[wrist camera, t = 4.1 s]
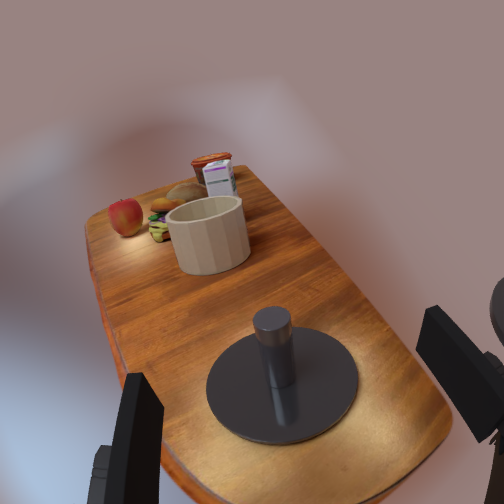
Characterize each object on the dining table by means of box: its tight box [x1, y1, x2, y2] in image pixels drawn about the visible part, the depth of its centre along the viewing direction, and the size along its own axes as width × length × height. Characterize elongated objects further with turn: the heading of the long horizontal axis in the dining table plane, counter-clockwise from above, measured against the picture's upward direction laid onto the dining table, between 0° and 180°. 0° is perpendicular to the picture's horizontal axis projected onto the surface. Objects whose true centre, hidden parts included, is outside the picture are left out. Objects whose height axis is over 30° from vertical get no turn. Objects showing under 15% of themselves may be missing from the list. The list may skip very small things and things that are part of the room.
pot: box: [165, 195, 251, 275], centre depth 52 cm, size 14×14×9 cm
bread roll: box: [166, 182, 209, 213], centre depth 84 cm, size 10×15×8 cm, turn 108°
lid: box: [206, 306, 358, 445], centre depth 25 cm, size 15×15×9 cm
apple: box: [108, 198, 143, 236], centre depth 73 cm, size 10×10×10 cm
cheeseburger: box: [148, 198, 186, 242], centre depth 68 cm, size 10×11×10 cm
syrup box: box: [202, 159, 238, 197], centre depth 66 cm, size 6×6×14 cm
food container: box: [191, 152, 232, 186], centre depth 111 cm, size 16×16×11 cm
